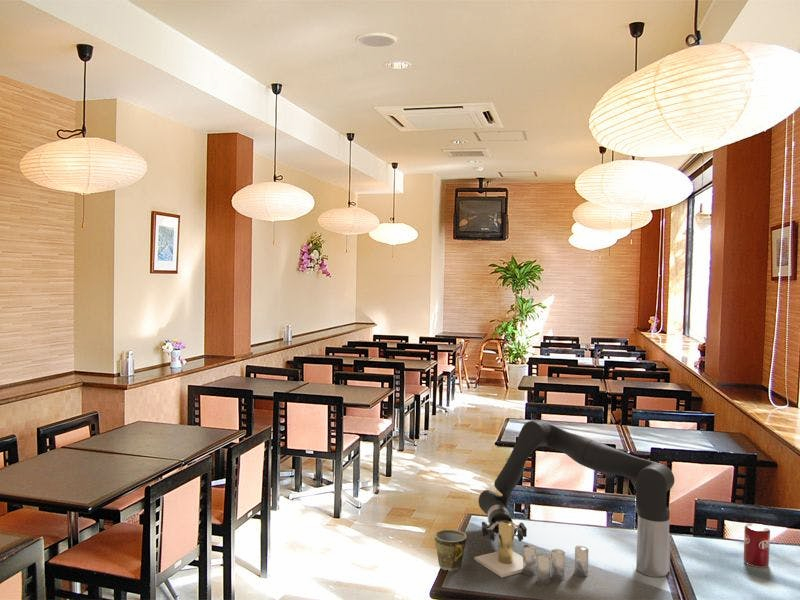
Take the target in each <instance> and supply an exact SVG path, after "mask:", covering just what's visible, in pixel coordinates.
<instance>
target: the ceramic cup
mask: <svg viewBox="0 0 800 600" xmlns="http://www.w3.org/2000/svg"><path fill="white" fill-rule="evenodd" d="M434 541H435V542H434V543H435V547H436V554H437V560H438V561H437V563H438V566H439V567H440V568H441V570H443V569H444V570H443V571H446V570H448V571H447V572H455V570H457V571H459V570H460V569H459V568H461V567H462V563H463V560H464V559H463V558H464V554H465V553H464V552H465V549H466V544H467V534H466V533H465V532H463V531H462V530H457V529H451V528H450V529H441V530H438V531H436V532H435V534H434ZM442 565H443V566H442Z"/></svg>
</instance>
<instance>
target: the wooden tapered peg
mask: <svg viewBox="0 0 800 600" xmlns="http://www.w3.org/2000/svg"><path fill="white" fill-rule="evenodd" d="M514 524H515V523H514V522H513V521H512V522H511V521H500V522H499V535H498V541H497V542H498V543H497V544H498V546H497V551H498V561H499V562H500V563H503V564H511V563H513V553H514V552H515V551H514V549H515V548H514V546H515V545H514V544H515V536H514Z"/></svg>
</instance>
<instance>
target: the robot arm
mask: <svg viewBox="0 0 800 600" xmlns="http://www.w3.org/2000/svg"><path fill="white" fill-rule="evenodd" d="M517 436H518V437H517V439H516V442H515V443H514V446H513V448H512V451H511V453H510V455H509V457H508V459H507V460H506V463H505V464H504V466H503V467H502V469H501V471H500V472H499V474H498V475H497V477H496V479H495V480H494V484H493V485H494V488H495V489H496V490H497V491H498V492H499V493H500V494H499V493H496V492H494V491H492V490H490V489H485V490H483V491H481V492H480V495H479V496H478V500H477V501H478V506H479V508H480V509H481V510H482V511H483V513H484V514H486V516H487V522H488V523H486V521H482V522H481V534H482V537H483V536H484V537H486V536H488V537H489V539H490V540H491V541H493V542H494V541H495V537H496V536H497V535H498V536H499V522H500V521H511V522H513V519H512V517H511V514H510V513H509V511H508V506H509V501H510V497H511V495H512V493H513V491H514V489H515V488H516V486H517V485H518V483H519V481H520V480H521V478H522V476H523V472H524V469H525V465H526V462H527V460H528V459H529V458H530V455H532V453H533V452H534V451H535V450H536V449H537V448H539V447H546V448H550V449H553V450H557V451H558V452H561V453H563V454H565V455H567V456H568V457H569V458H571V460H572V461H574V462H576V463H578V465H581V466H583V467H584V468H585V467H586V468H587V469H590V470H591V471H596V472H599V473H602V474H608V475H613V476H615V475H616V476H621V477H626V478H630V479H633V480H634V481H635V503H636V504H635V505H636V508H637V530H636V531H637V533H636V535H637V538H636V541H637V542H636V561H635V562H636V567H635V568H636V570H637V572H638V573H641V574H643V575H645V576H649V577H653V578H654V577H656V578H660V577H661V578H662V577H666V576H668V574H669V572H670V571H671V570H670V569H671V543H672V542H671V541H670V515H671V511H670V509H669V508H668V506H667V492H669V491H670V490H672V488H673V487H674V485H675V475H674V473H673V471H672V470H671V468H669V467H668V466H666V465H665V464H663V463H659V462H656V461H651V460H648V459H645V458H640V457H638V456H634V455H632V454H629V453H627V452H626V451H625V452H624V451H622V450H619V449H618V448H616V447H611V446H609V445H607V444H605V443H602V442H599V441H597V440H594V439H592V438H588V437H585V436H583V435H579V434H576V433H572V432H569V431H567V430H564V429H562V428H560V427H559V426H556V425H554V424H552V423H551V422H548V421H546V420H543V419H534V420H530V421H527V422H525V423H524V424H523V426H522V428H521V430H520V432H519V434H518V435H517ZM527 530H528V529H527V527H526V526H525V523H524V522H519V524H515V523H514V537H516V538H517V540H518V541H519V542H522V541H524V538H526V537H527V533H528V532H527Z"/></svg>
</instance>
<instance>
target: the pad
mask: <svg viewBox="0 0 800 600" xmlns="http://www.w3.org/2000/svg"><path fill="white" fill-rule="evenodd" d="M475 560H476V561H475ZM474 561H475V562H477V563H478V564H480V565H481V566H484V567H485V568H486V569H488V570H490V571H491V572H493V573H494V574H495V575H497V576H499V577H500V578H505V577H509V576H513V575H516V574H521V573H523V555H520V553H517V552H515V551H514V553H513V563H511V564H503V563H500V562H499V561H498V550H497V551H494V552H489V553H485V554H481V555H477V556H474ZM536 569H537V564H536Z"/></svg>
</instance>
